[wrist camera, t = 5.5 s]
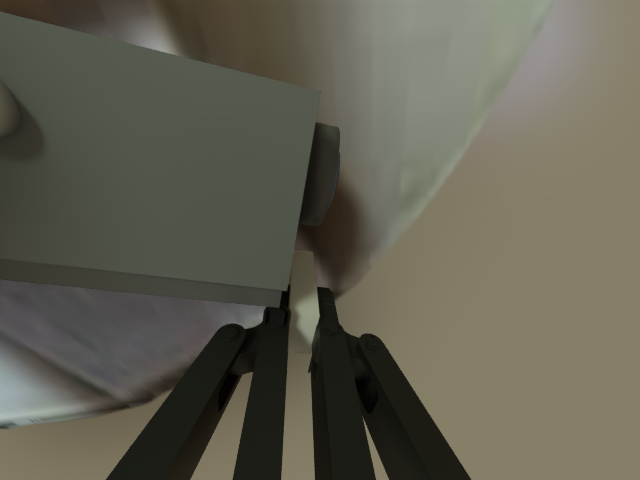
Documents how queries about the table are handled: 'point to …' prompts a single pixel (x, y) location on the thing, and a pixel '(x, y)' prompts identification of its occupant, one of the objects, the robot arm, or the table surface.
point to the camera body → (153, 169)
